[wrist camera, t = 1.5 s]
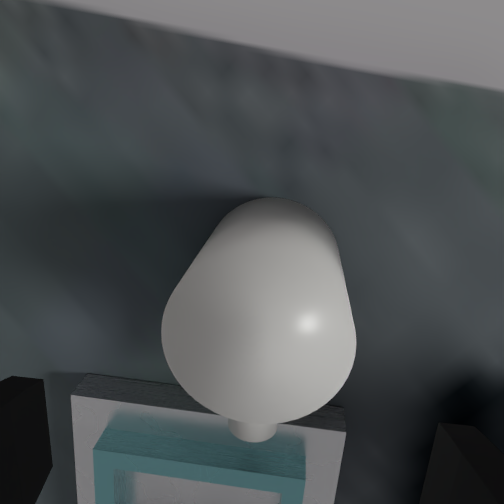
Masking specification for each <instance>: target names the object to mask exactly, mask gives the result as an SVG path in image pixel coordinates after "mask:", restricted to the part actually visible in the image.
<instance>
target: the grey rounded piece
mask: <svg viewBox="0 0 504 504" xmlns="http://www.w3.org/2000/svg"><path fill="white" fill-rule="evenodd" d="M161 337H162V346H163V351H164V355H165V358H166V360H167V363H168V365H169V367H170V369H171V371H172V373H173V375H174V377H175V378H176V379H177V381H178V382H179V384H180V385H181V386H182V387H183V388H184V390H185V391H186V392H187V393H188V394H189V395H190V396H191V397H193V398H194V399H195V400H196V401H197V402H199V403H200V404H202V405H203V406H204V407H206V408H208V409H210V410H211V411H213V412H215V413H217V414H219V415H222V416H224V417H226V418H228V427H229V430H230V431H231V433H232V434H233V435H234V436H235V437H237V438H239V439H241V440H243V441H247V442H263V441H266V440H268V439H270V438H271V437H272V436H273V435H274V434H275V433H276V430H277V423H283V422H288V421H292V420H296V419H299V418H301V417H304V416H306V415H308V414H310V413H312V412H314V411H316V410H318V409H319V408H321V407H322V406H323V405H325V404H326V403H327V402H328V401H330V400H331V399H332V398H333V397H334V396H335V395H336V394H337V392H338V391H339V390H340V389H341V387H342V386H343V385H344V383H345V381H346V380H347V378H348V376H349V374H350V371H351V369H352V366H353V362H354V358H355V353H356V331H355V327H354V322H353V317H352V312H351V308H350V303H349V298H348V293H347V289H346V284H345V279H344V274H343V270H342V265H341V260H340V255H339V251H338V246H337V243H336V240H335V237H334V235H333V233H332V231H331V230H330V228H329V227H328V225H327V224H326V223H325V221H324V220H323V219H322V218H321V217H320V216H319V215H318V214H316V213H315V212H314V211H313V210H311V209H309V208H308V207H306V206H305V205H302V204H300V203H298V202H295V201H292V200H289V199H283V198H271V197H269V198H260V199H255V200H251V201H249V202H246V203H243V204H242V205H240V206H238V207H236V208H235V209H233V210H232V211H230V212H229V213H228V214H227V215H226V216H225V217H224V218H223V219H222V220H221V221H220V223H219V224H218V225H217V227H216V228H215V230H214V231H213V233H212V234H211V236H210V237H209V239H208V240H207V242H206V243H205V245H204V246H203V248H202V249H201V250H200V252H199V253H198V255H197V256H196V258H195V259H194V261H193V262H192V264H191V265H190V267H189V268H188V270H187V271H186V273H185V274H184V276H183V277H182V279H181V280H180V282H179V283H178V285H177V286H176V288H175V289H174V291H173V293H172V294H171V296H170V298H169V300H168V302H167V305H166V307H165V310H164V314H163V319H162V327H161Z"/></svg>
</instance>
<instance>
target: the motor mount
mask: <svg viewBox="0 0 504 504" xmlns="http://www.w3.org/2000/svg"><path fill="white" fill-rule="evenodd" d="M71 408H72V423H73V439H74V454H75V470H76V485H77V501H78V504H334V500H335V494H336V489H337V483H338V477H339V472H340V466H341V460H342V455H343V449H344V443H345V438H346V425H345V417H344V409H343V407H336V406H328V405H323V406H322V407H321V408H319V409H318V410H316V411H314V412H312V413H310V414H308V415H306V416H304V417H301V418H299V419H296V420H292V421H288V422H283V423H277V430H276V433H275V434H274V435H273V436H272V437H271V438H270V439H268V440H266V441H263V442H247V441H243V440H241V439H239V438H237V437H235V436H234V435H233V434H232V433H231V431H230V430H229V427H228V418H226V417H224V416H222V415H219V414H217V413H215V412H213V411H211V410H210V409H208V408H206V407H204V406H203V405H202V404H200V403H199V402H197V401H196V400H195V399H194V398H193V397H191V396H190V395H189V394H188V393H187V392H186V391H185V390H184V388H183V387H182V386H177V385H169V384H162V383H154V382H147V381H139V380H132V379H124V378H117V377H109V376H101V375H94V374H87V375H86V376H85V377H84V378H83V380H82V381H81V382H80V384H79V385H78V386H77V387H76V389H75V390H74V391H73V393H72V394H71Z"/></svg>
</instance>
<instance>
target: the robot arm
mask: <svg viewBox="0 0 504 504" xmlns="http://www.w3.org/2000/svg"><path fill="white" fill-rule="evenodd" d="M52 467H53V464H52V455H51V445H50V436H49V427H48V418H47V409H46V400H45V391H44V382H43V379H35V378H26V377H17V376H11V377H9V378H7V379H4V380H2V381H0V504H35V502H36V500H37V498H38V496H39V494H40V492H41V490H42V488H43V486H44V484H45V482H46V479H47V477H48V475H49V473H50V471H51V469H52ZM419 504H504V454H503V453H502V452H501V451H500V450H499V449H498V448H497V447H496V446H495V445H494V444H493V443H492V442H491V441H490V440H488V439H487V438H486V437H485V436H484V435H483V434H482V433H481V432H480V431H479V430H478V429H477V428H476V427H474V426H466V425H457V424H448V423H438V427H437V431H436V435H435V439H434V444H433V448H432V452H431V456H430V460H429V464H428V469H427V473H426V477H425V481H424V485H423V489H422V494H421V498H420V502H419Z"/></svg>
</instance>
